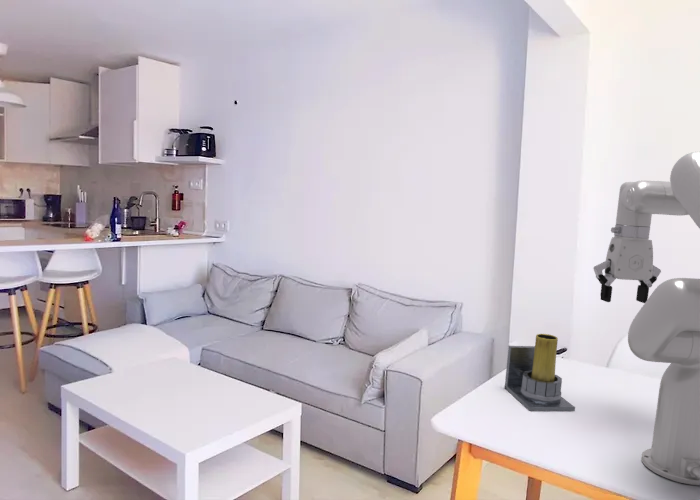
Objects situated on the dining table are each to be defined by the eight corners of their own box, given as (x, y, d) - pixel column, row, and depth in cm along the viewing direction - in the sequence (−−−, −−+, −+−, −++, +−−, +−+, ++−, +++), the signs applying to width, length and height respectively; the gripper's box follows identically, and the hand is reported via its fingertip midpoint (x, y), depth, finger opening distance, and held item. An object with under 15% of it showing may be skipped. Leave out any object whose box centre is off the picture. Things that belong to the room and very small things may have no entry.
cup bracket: (574, 411, 134) (579, 365, 132) (529, 411, 132) (534, 364, 131) (545, 388, 149) (549, 346, 147) (504, 387, 147) (508, 345, 145)
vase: (556, 395, 135) (561, 341, 134) (531, 392, 136) (536, 338, 135) (551, 386, 141) (556, 334, 140) (527, 384, 142) (532, 332, 141)
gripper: (608, 232, 125) (600, 304, 127) (675, 236, 128) (665, 305, 130) (590, 230, 133) (582, 297, 135) (653, 233, 135) (645, 299, 137)
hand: (623, 301), depth 132 cm, fingers open, 9 cm apart
